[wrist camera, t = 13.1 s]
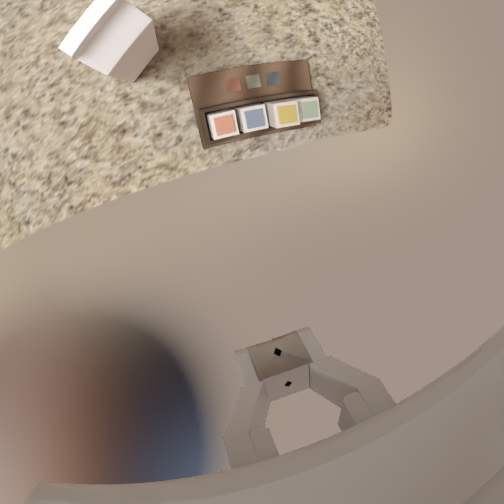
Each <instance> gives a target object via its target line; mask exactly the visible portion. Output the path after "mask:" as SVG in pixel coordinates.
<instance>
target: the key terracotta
mask: <svg viewBox="0 0 504 504" xmlns="http://www.w3.org/2000/svg"><path fill="white" fill-rule="evenodd" d="M206 119H207V123H208V128H209V132H210V136H211V137H212V138H213V139H214V140H217V139H221V138H225V137H230V136H234V135H238V134H239V129H238V124H237V119H236V114H235V110H233V109H230V108H228V109H223V110H219V111H214V112H210V113H206Z"/></svg>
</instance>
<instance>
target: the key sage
mask: <svg viewBox="0 0 504 504" xmlns="http://www.w3.org/2000/svg"><path fill="white" fill-rule="evenodd" d="M286 99H290V100H297V103H298V111H299V118H300V123H301V122H307V121H314V120H321V116H320V108H319V100H318V97H315V96H299V97H291V98H286Z"/></svg>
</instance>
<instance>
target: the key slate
mask: <svg viewBox="0 0 504 504" xmlns="http://www.w3.org/2000/svg"><path fill="white" fill-rule="evenodd" d="M234 110H235V114H236V119H237V124H238V129H239V130H240V131H242V132H243V133H247V132H252V131H257V130H262V129H267V128H269V127H268V121H267V115H266V109H265V104H261V103H253V104H248V105H242V106H237V107H234Z"/></svg>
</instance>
